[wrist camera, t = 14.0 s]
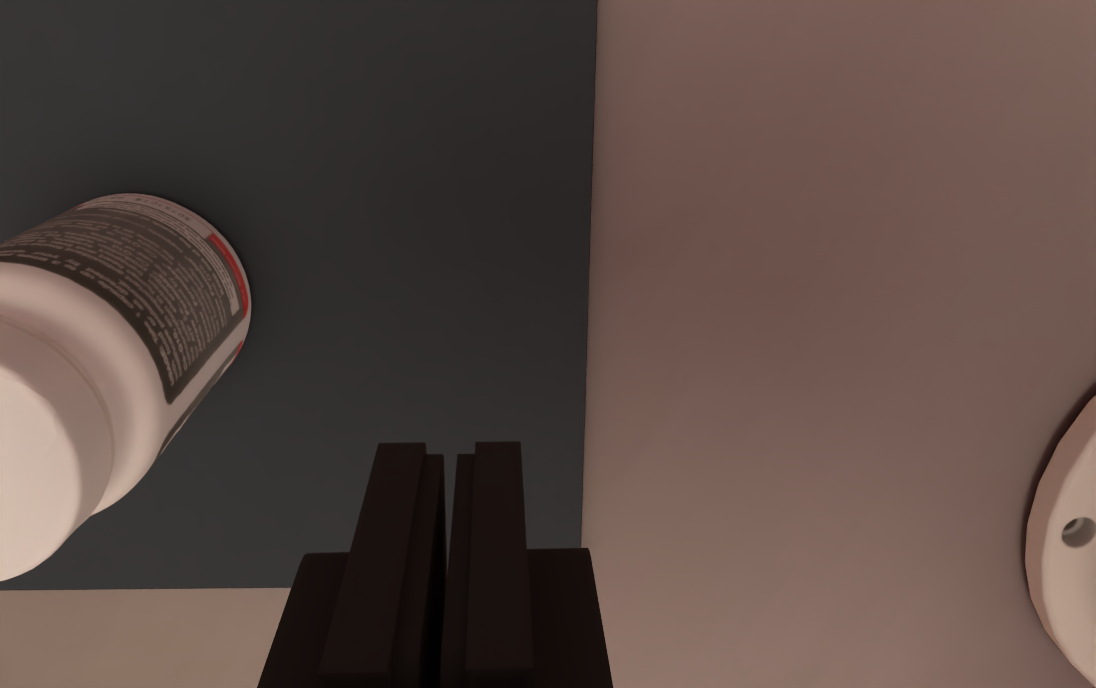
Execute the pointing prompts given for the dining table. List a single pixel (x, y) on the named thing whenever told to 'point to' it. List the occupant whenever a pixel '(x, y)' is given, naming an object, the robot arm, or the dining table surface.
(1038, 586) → the robot arm
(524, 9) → the mat
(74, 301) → the pill bottle
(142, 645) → the dining table surface
